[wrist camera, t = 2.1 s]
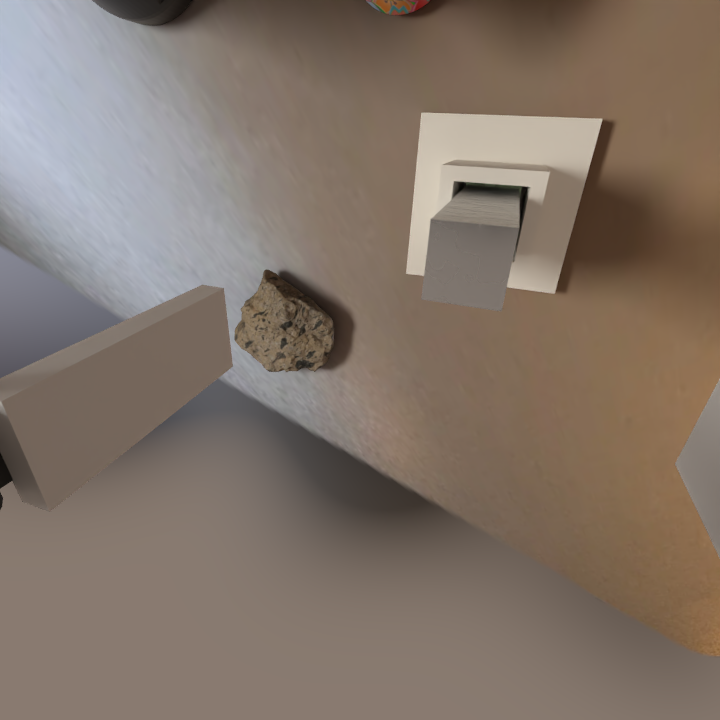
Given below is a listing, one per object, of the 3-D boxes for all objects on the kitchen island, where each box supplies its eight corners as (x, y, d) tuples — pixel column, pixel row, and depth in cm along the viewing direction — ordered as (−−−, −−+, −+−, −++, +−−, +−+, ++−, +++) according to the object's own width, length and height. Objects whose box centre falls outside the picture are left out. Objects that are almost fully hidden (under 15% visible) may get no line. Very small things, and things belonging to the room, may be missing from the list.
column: (469, 179, 37) (428, 215, 20) (521, 182, 36) (523, 225, 19) (462, 229, 39) (418, 301, 22) (510, 235, 38) (503, 314, 21)
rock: (309, 382, 54) (293, 400, 51) (238, 324, 54) (217, 339, 50) (355, 323, 48) (341, 339, 45) (275, 258, 48) (254, 269, 44)
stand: (423, 113, 37) (399, 107, 29) (600, 119, 33) (624, 114, 25) (408, 270, 43) (385, 299, 36) (553, 290, 40) (562, 326, 32)
